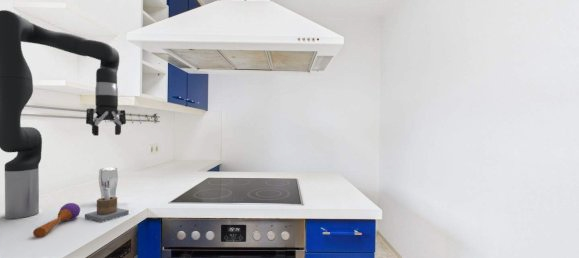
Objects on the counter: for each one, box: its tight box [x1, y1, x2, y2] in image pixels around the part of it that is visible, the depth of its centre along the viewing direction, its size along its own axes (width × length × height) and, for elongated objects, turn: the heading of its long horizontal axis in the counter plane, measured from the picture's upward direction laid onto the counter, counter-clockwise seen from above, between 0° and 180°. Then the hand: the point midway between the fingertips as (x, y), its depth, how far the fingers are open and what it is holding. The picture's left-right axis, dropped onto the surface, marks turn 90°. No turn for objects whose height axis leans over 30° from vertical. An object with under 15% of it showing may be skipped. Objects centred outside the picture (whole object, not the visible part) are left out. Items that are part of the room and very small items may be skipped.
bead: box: [96, 196, 118, 215], centre depth 104 cm, size 6×6×5 cm
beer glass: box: [98, 167, 119, 198], centre depth 121 cm, size 7×7×15 cm
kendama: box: [32, 202, 81, 239], centre depth 94 cm, size 6×6×20 cm
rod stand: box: [84, 188, 130, 223], centre depth 104 cm, size 10×10×11 cm
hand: (107, 135), depth 112 cm, fingers open, 8 cm apart
